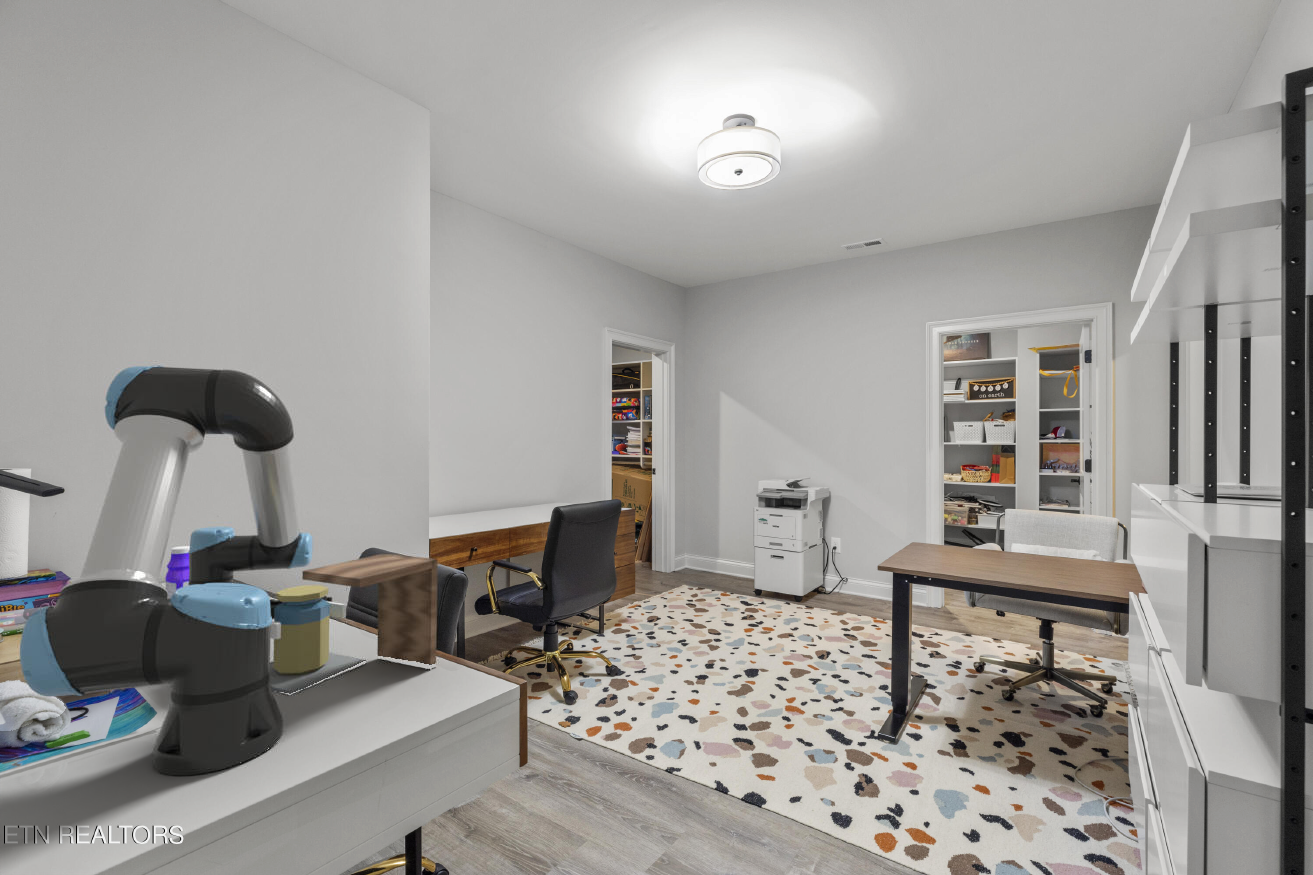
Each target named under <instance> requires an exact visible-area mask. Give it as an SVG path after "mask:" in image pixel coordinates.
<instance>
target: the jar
mask: <svg viewBox="0 0 1313 875" xmlns="http://www.w3.org/2000/svg"><path fill="white" fill-rule="evenodd" d="M328 594H329V588H328V587H326V586H324V585H322V584H318V585H317V584H316V585H311V584H310V585H308V584H307V585H305V584H304V585H298V586H293V587H292V586H291V587H287V588H284V589H280V590H279V591H277V592H275V600H279V601H281V602H283V603H281V604H280V605H279V606H277V607H276V608H274V619H273V622H277V623H281V638H280V639H273V661H274V663H273V668H274V669H275V670H277V671H278V672H279V673H281V674H284V675H296V674H303V673H307V672H311V671H315V670H316V669H318V668H319V667H321V666H322V665H323V664H325V663H326V662H327V661H328V660H329V653H330V651H329V650H330V616H329V605H330V603H329V602H327V601H325V600H323V599H322V597H324V596H328Z"/></svg>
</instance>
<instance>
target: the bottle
mask: <svg viewBox="0 0 1313 875" xmlns="http://www.w3.org/2000/svg"><path fill="white" fill-rule="evenodd" d="M189 550H190V545H186V546H185V545H184V546H183V545H181V546H175V547H172V548H171V550H170V551H171V552H170V559H169V562H168V564H166V567H167V569H168V570H167V572H166V575H165V588H166V589H167V591H168V596H167V599H170V598H171V596H172V595H173V593H174V592H175V591H176V590H177V589H179V588H181V587H185V586H188V583H189V553H188V551H189Z"/></svg>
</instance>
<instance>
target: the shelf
mask: <svg viewBox="0 0 1313 875" xmlns="http://www.w3.org/2000/svg"><path fill="white" fill-rule="evenodd" d="M438 560H439V559H438V558H437V559H436V558H430V557H429V558H427V557H419V556H409V555H404V554H403V555H402V554H394V553H393V554H391V553H381V554H376V555H372V556H366V557H362V558H357V559H353V560H348V561H344V562H343V561H342V562H339V563H338V562H337V563H334V564H330V565H324V566H321V567H315V568H312V569H311V568H310V569H306V570H302V579H301V580H303V581H311V582H320V583H324V584H332V585H338V586H345V587H352V588H358V589H359V588H364V587H368V586H371V585H375V584H378V585H377V586H378V587H377V588H378V595H377V596H378V597H377V649H376V650H377V652H376V653H377V655H378V656H383V657H391V658H395V659H402V660H408V661H416V662H420V663H424V664H429V665H432V664H435V663H436V664H437V627H438V626H437V625H438V623H437V621H438V619H437V618H438V617H437V616H438V614H437V613H438Z"/></svg>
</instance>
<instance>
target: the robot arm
mask: <svg viewBox="0 0 1313 875" xmlns="http://www.w3.org/2000/svg"><path fill="white" fill-rule="evenodd" d="M105 401H106V405H105V406H104V414H105V419H106V422H107V424H108V426H109V428H110V429H111V430H112V431H114V435H115V437H116V439H118V440H119V441H120V442H121V443H122V444H121V447H120V450H119V454H118V458H117V460H116V464H115V466H114V469H113V473H112V476H111V479H110V482H109V485H108V488H107V492H106V495H105V497H104V502H103V505H102V507H101V510H100V514H99V517H98V521H97V522H96V527H95V529H94V533H93V536H92V539H91V542H90V546H89V548H88V551H87V555H86V557H85V558H86V559H85V562H84V564H83V567H82V570H81V574H80V577H79V578H77V579H76V580H73V581H71V582H70V583H68V584H66V585H64V586H63V587H62V588H61V590H60V592H59V595H58V598H57V601H56V603H55V605H54V606H52V605H51V606H50V605H47V606H44V607H43V608H39V609H37V610H35V611H34V612H33V613H32V614H31V616H29V618H28V619H27V620H26V621H25V624H24V627H23V628H22V633H21V637H20V642H19V644H20V645H19V661H20V667H21V670H22V676H23V677H24V678H23V679H24V680H25V682H26V684H27V685H28V687H29V688H30V689H31V690H32V691H33V692H34V693H36V694H38V695H39V696H43V697H49V698H50V697H61V696H62V697H63V696H72V695H75V696H78V697H80V696H84V695H85V696H86V695H87V694H91V693H93V694H94V693H101V692H107V691H116V690H124V689H133V688H140V687H148V686H155V685H157V686H158V685H166V684H168V685H169V684H170V704H169V707H168V709H167V712H166V716H165V717H164V721H163V722H162V725H161V728H160V730H159V732H158V736H157V738H156V740H155V743H154V744H153V745H154V746H153V751H152V753H153V754H152V759H153V760H152V766H153V768H154V769H155V771H157V772H158V773H160V774H164V775H170V776H192V775H200V774H207V773H212V772H215V771H220V770H224V769H227V767H228V768H230V767H229V766H231V767H233V766H232V765H234V766H236V765H235V764H237V765H239V764H238V763H240V762H243V763H245V762H247V761H246V760H248V759H250V760H252V759H254V758H256V757H258V756H260V755H262V754H263V753H262V752H264V751H265V752H267V751H268V750H267V749H268V748H270V747H271V748H273V747H274V746H275V745H276V744H277V743H278V742H279V741H280V740H281V738H282V737H283V729H284V728H283V727H284V726H283V722H284V721H283V716H282V712H281V710H280V708H279V705H278V703H277V700H276V697H275V695H274V692H273V691H272V690H271V687H270V663H271V639H272V640H274V639H280V638H281V623H277V622H274V608H276V607H277V606H279V605H280V604H281V603H283V602H281V601H279V600H278V599H276V598H275V599H272V598H270V595H269V594H268V593H267V592H266V590H264V589H262V588H259V587H257V586H255V585H250V584H246V583H245V584H244V583H237V582H234V573H236V572H247V571H249V572H250V571H263V570H264V571H267V570H284V569H285V570H286V569H287V570H291V569H296V568H305V567H308V565H310V563H311V561H312V557H313V548H314V547H313V546H314V545H313V537H312V535H311V534H310V533H308V532H306V533H305V532H300V527H299V518H298V509H297V501H296V494H295V484H294V483H295V482H294V476H293V467H292V460H291V450H290V445H291V443H292V442H293V440H294V437H295V436H294V435H295V434H294V426H293V421H292V418H291V415H290V413H289V411H288V409H287V407H286V406H285V404H284V403H283V402H282V401H281V399H280V398H279V396H278V395H277V394H276V393H275V392H274V391H273V390H272V389H271V388H270V387H269V386H267V385H266V384H265V383H264V382H263V381H261V380H259V379H258V378H256V377H254V376H252V375H251V374H248V373H245V372H242V371H239V370H233V369H224V368H223V369H214V368H213V369H212V368H191V367H171V366H169V367H167V366H161V365H158V364H157V365H150V366H148V365H147V366H144V365H143V366H141V365H139V366H137V365H136V366H130V367H127V368H125V369H122V370H121V371H120V372H118V373H117V374H116V375H115V377H114V378H113V379H112V381H111V382H110V384H109V387H108V389H107V392H106V396H105ZM205 435H231V436H232V438H233V443H234V445H235V446H236V447H237V448H238V449H240V450H241V451H242V455H243V461H244V466H245V472H246V477H247V479H246V480H247V484H248V488H249V489H248V490H249V495H250V500H251V501H250V502H251V506H252V510H253V516H254V521H255V522H254V523H255V527H256V533H257V535H255V534H253V535H236V533H235V531H234V530H235V529H234V528H233V527H230V526H210V527H201V528H197V529H195V530H194V531H192V532H191V534H190V538H189V539H190V540H189V546H190V550H189V551H188V553H189V583H188V586H185V587H181V588H179V589H177V590H176V591H175V592H174V593H173V595H172V596H171V598H170V599H167V596H168V591H167V589H166V586H164V585H163V584H161V582H159V579H160V578H159V577H160V574H161V569H162V565H163V562H164V557H165V554H166V550H167V545H168V540H169V539H170V538H169V537H170V534H171V528H172V525H173V520H174V517H175V513H176V509H177V506H178V505H177V504H178V500H179V497H180V492H181V489H182V484H183V480H184V475H185V472H186V467H187V464H188V459H189V456H190V453H193V452H196V451H197V450H199V449H200V448H201V447H202V446H203V443H204V440H205ZM322 599H323V600H325V601H327V602H329V603H330V605H329V617H332V618H337V619H346V616H347V604H345V603H340V602H335V601H333V597H332V596H328V595H325V596H323V597H322ZM279 739H280V740H279ZM278 740H279V741H278ZM277 741H278V742H277ZM276 742H277V743H276ZM275 743H276V744H275ZM274 744H275V745H274ZM273 745H274V746H273ZM272 746H273V747H272ZM271 748H270V749H271ZM266 750H267V751H266ZM265 752H264V753H265ZM261 753H262V754H261ZM259 754H260V755H259ZM257 755H258V756H257ZM255 756H256V757H255ZM253 757H254V758H253ZM251 758H252V759H251ZM244 761H245V762H244ZM248 761H249V760H248ZM240 764H241V763H240Z"/></svg>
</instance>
